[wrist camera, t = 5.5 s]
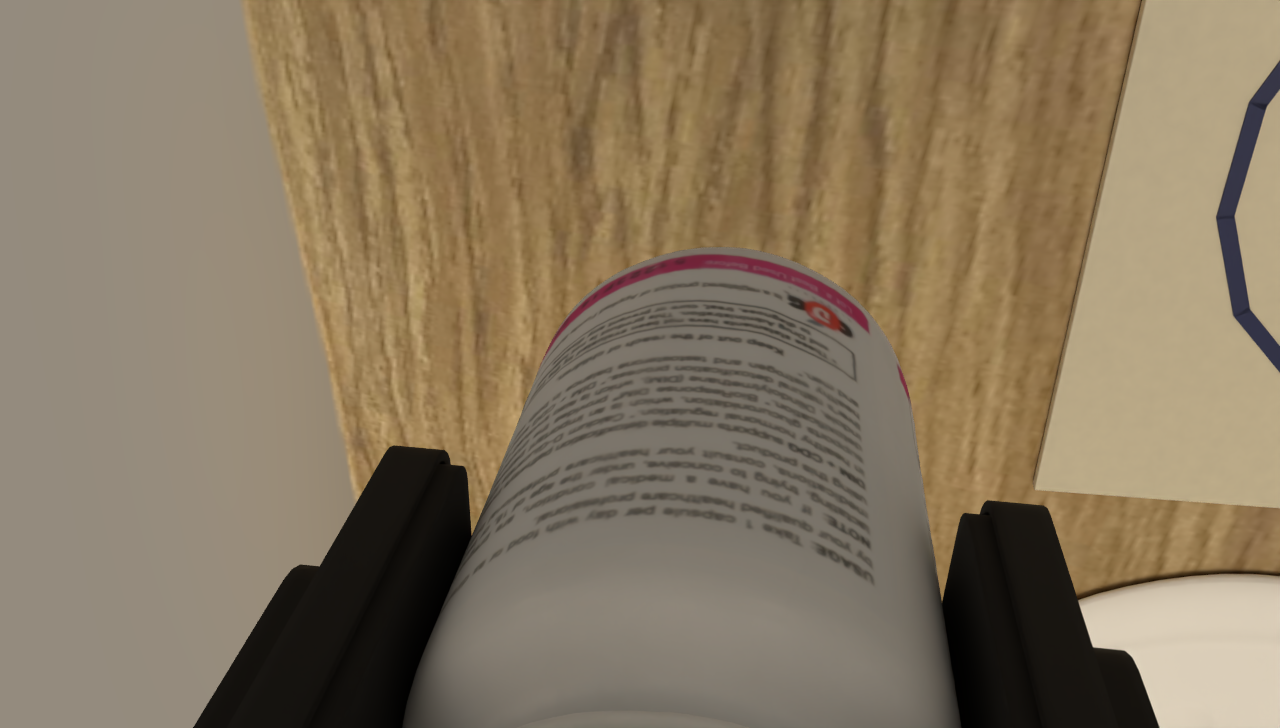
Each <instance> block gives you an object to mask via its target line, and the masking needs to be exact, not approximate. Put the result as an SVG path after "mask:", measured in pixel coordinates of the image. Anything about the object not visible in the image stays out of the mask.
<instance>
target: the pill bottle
mask: <svg viewBox="0 0 1280 728" xmlns="http://www.w3.org/2000/svg"><path fill="white" fill-rule="evenodd" d="M402 728H961V721H960V714H959V707H958V701H957V696H956V690H955V679H954V675H953V671H952V665H951V658H950V651H949V644H948V638H947V632H946V626H945V620H944V614H943V608H942V601H941V595H940V588H939V582H938V576H937V570H936V562H935V556H934V551H933V544H932V539H931V533H930V527H929V520H928V515H927V508H926V502H925V495H924V488H923V480H922V475H921V471H920V462H919V455H918V448H917V441H916V434H915V425H914V419H913V413H912V407H911V402H910V397H909V393H908V389H907V385H906V382H905V379H904V376H903V373H902V370H901V367H900V365H899V362H898V359H897V357H896V355H895V353H894V350H893V348H892V346H891V344H890V342H889V341H888V339H887V337H886V336H885V334H884V333H883V331H882V330H881V328H880V327H879V325H878V324H877V323H876V321H875V320H874V319H873V318H872V316H871V315H870V314H869V313H868V312H867V311H866V309H865V308H864V307H863V306H862V305H861V304H860V303H859V302H858V301H857V300H856V299H855V298H853V297H852V296H851V295H850V294H849V293H847V292H846V291H845V290H844V289H843V288H841V287H840V286H838V285H837V284H835V283H834V282H832V281H831V280H829V279H827V278H826V277H824V276H822V275H821V274H819V273H817V272H815V271H813V270H811V269H809V268H807V267H805V266H803V265H801V264H799V263H796V262H794V261H791V260H788V259H786V258H783V257H780V256H777V255H773V254H769V253H766V252H762V251H757V250H751V249H745V248H732V247H708V248H696V249H688V250H682V251H676V252H673V253H669V254H665V255H661V256H658V257H655V258H652V259H649V260H646V261H643V262H641V263H638V264H636V265H634V266H631V267H629V268H626V269H624V270H622V271H620V272H618V273H617V274H615V275H614V276H612V277H610V278H609V279H607V280H606V281H604V282H603V283H601V284H600V285H599V286H597V287H596V288H594V289H593V290H592V291H591V292H590V293H589V294H587V295H586V296H585V297H584V298H583V299H582V300H581V301H580V302H579V303H578V304H577V305H576V306H575V307H574V308H573V310H572V311H571V312H570V313H569V315H568V316H567V317H566V319H565V320H564V322H563V323H562V324H561V326H560V327H559V329H558V331H557V332H556V334H555V336H554V337H553V339H552V341H551V343H550V345H549V347H548V350H547V352H546V354H545V356H544V358H543V361H542V363H541V365H540V368H539V371H538V373H537V376H536V378H535V381H534V383H533V386H532V388H531V391H530V394H529V396H528V398H527V401H526V403H525V405H524V408H523V411H522V414H521V416H520V419H519V422H518V424H517V426H516V429H515V431H514V434H513V436H512V439H511V441H510V444H509V446H508V449H507V451H506V454H505V456H504V459H503V461H502V464H501V466H500V469H499V471H498V474H497V476H496V479H495V481H494V483H493V486H492V489H491V491H490V494H489V496H488V499H487V501H486V503H485V506H484V508H483V511H482V513H481V515H480V518H479V520H478V522H477V525H476V527H475V530H474V532H473V534H472V537H471V539H470V542H469V544H468V546H467V549H466V551H465V554H464V556H463V559H462V561H461V563H460V566H459V568H458V571H457V573H456V575H455V578H454V580H453V583H452V585H451V587H450V590H449V592H448V594H447V597H446V599H445V602H444V604H443V607H442V609H441V611H440V614H439V616H438V619H437V621H436V624H435V626H434V628H433V631H432V633H431V635H430V638H429V640H428V643H427V645H426V647H425V650H424V652H423V655H422V658H421V660H420V663H419V665H418V668H417V670H416V673H415V677H414V680H413V683H412V687H411V690H410V693H409V697H408V700H407V704H406V709H405V714H404V719H403V725H402Z"/></svg>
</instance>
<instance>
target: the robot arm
mask: <svg viewBox="0 0 1280 728" xmlns="http://www.w3.org/2000/svg"><path fill="white" fill-rule="evenodd" d="M471 537H472V536H471V521H470V507H469V492H468V478H467V472H466V469H465V467H463V466H457V465H451V464H450V458H449V455H448V453H447V452H446V451H445V450H437V449H426V448H415V447H404V446H392V447H390V448H389V449H388V450H387V451H386V453H385V454H384V456H383V458H382V459H381V461H380V463H379V465H378V466H377V468H376V470H375V472H374V473H373V475H372V477H371V479H370V480H369V482H368V484H367V485H366V487H365V489H364V491H363V492H362V494H361V496H360V498H359V499H358V501H357V503H356V504H355V506H354V508H353V510H352V512H351V513H350V515H349V517H348V518H347V520H346V522H345V524H344V525H343V527H342V529H341V530H340V532H339V534H338V536H337V537H336V539H335V541H334V543H333V544H332V546H331V548H330V550H329V551H328V553H327V555H326V556H325V558H324V560H323V562H322V564H321V565H320V567H319V566H309V565H299V566H297V567H295V568H293V569H292V570H291V571H290V573H289V574H288V575H287V576H286V577H285V579H284V580H283V582H282V584H281V585H280V587H279V588H278V590H277V592H276V593H275V595H274V596H273V598H272V600H271V601H270V603H269V604H268V606H267V608H266V609H265V611H264V613H263V614H262V616H261V618H260V619H259V621H258V622H257V624H256V626H255V627H254V629H253V631H252V632H251V634H250V636H249V637H248V639H247V640H246V642H245V644H244V645H243V647H242V649H241V650H240V652H239V654H238V655H237V657H236V658H235V660H234V662H233V663H232V665H231V667H230V668H229V670H228V672H227V673H226V675H225V677H224V678H223V680H222V681H221V683H220V685H219V686H218V688H217V690H216V691H215V693H214V695H213V696H212V698H211V699H210V701H209V703H208V704H207V706H206V708H205V709H204V711H203V713H202V714H201V716H200V717H199V719H198V721H197V723H196V724H195V726H194V727H193V728H402V725H403V719H404V714H405V709H406V704H407V700H408V697H409V693H410V690H411V687H412V683H413V680H414V677H415V673H416V670H417V668H418V665H419V663H420V660H421V658H422V655H423V652H424V650H425V647H426V645H427V643H428V640H429V638H430V635H431V633H432V631H433V628H434V626H435V624H436V621H437V619H438V616H439V614H440V611H441V609H442V607H443V604H444V602H445V599H446V597H447V594H448V592H449V590H450V587H451V585H452V583H453V580H454V578H455V575H456V573H457V571H458V568H459V566H460V563H461V561H462V559H463V556H464V554H465V551H466V549H467V546H468V544H469V542H470V539H471ZM942 608H943V614H944V620H945V626H946V632H947V638H948V644H949V651H950V658H951V665H952V671H953V675H954V679H955V690H956V696H957V701H958V707H959V714H960V721H961V728H1160V727H1159V725H1158V722H1157V719H1156V716H1155V714H1154V711H1153V708H1152V705H1151V702H1150V700H1149V697H1148V694H1147V691H1146V689H1145V686H1144V683H1143V680H1142V678H1141V675H1140V672H1139V670H1138V668H1137V666H1136V664H1135V662H1134V660H1133V658H1132V657H1131V656H1130V655H1129V654H1128V653H1127V652H1126V651H1124V650H1115V649H1105V648H1095V647H1093V646H1092V643H1091V640H1090V636H1089V633H1088V630H1087V627H1086V624H1085V621H1084V618H1083V615H1082V612H1081V608H1080V605H1079V602H1078V599H1077V596H1076V593H1075V590H1074V587H1073V584H1072V580H1071V577H1070V574H1069V571H1068V568H1067V565H1066V562H1065V559H1064V555H1063V552H1062V549H1061V546H1060V543H1059V540H1058V537H1057V534H1056V531H1055V527H1054V524H1053V521H1052V518H1051V515H1050V513H1049V511H1048V509H1047V508H1046V507H1045V506H1042V505H1031V504H1021V503H1010V502H999V501H986V502H985V503H984V504H983V506H982V508H981V512H980V514H969V513H964V514H963V515H962V517H961V519H960V522H959V526H958V531H957V535H956V540H955V545H954V550H953V554H952V559H951V564H950V568H949V573H948V578H947V582H946V587H945V592H944V597H943V601H942Z"/></svg>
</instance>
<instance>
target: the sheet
mask: <svg viewBox="0 0 1280 728" xmlns="http://www.w3.org/2000/svg"><path fill="white" fill-rule="evenodd" d="M1033 487H1034V489H1035V490H1043V491H1056V492H1069V493H1083V494H1096V495H1110V496H1123V497H1136V498H1150V499H1163V500H1176V501H1190V502H1203V503H1216V504H1230V505H1243V506H1257V507H1270V508H1280V0H1142V2H1141V7H1140V11H1139V16H1138V20H1137V24H1136V29H1135V33H1134V38H1133V42H1132V47H1131V51H1130V55H1129V60H1128V64H1127V69H1126V73H1125V78H1124V82H1123V86H1122V91H1121V95H1120V100H1119V104H1118V109H1117V113H1116V117H1115V122H1114V126H1113V131H1112V135H1111V140H1110V144H1109V148H1108V153H1107V157H1106V162H1105V166H1104V171H1103V175H1102V179H1101V184H1100V188H1099V193H1098V197H1097V202H1096V206H1095V210H1094V215H1093V219H1092V224H1091V228H1090V233H1089V237H1088V241H1087V246H1086V250H1085V255H1084V259H1083V263H1082V268H1081V272H1080V277H1079V281H1078V286H1077V290H1076V294H1075V299H1074V303H1073V308H1072V312H1071V317H1070V321H1069V325H1068V330H1067V334H1066V339H1065V343H1064V348H1063V352H1062V356H1061V361H1060V365H1059V370H1058V374H1057V379H1056V383H1055V387H1054V392H1053V396H1052V401H1051V405H1050V410H1049V414H1048V418H1047V423H1046V427H1045V432H1044V436H1043V441H1042V445H1041V449H1040V454H1039V458H1038V463H1037V467H1036V472H1035V476H1034V480H1033Z"/></svg>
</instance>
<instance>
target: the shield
mask: <svg viewBox="0 0 1280 728" xmlns="http://www.w3.org/2000/svg"><path fill="white" fill-rule="evenodd" d="M1078 602H1079V605H1080V608H1081V612H1082V615H1083V618H1084V621H1085V624H1086V627H1087V630H1088V633H1089V636H1090V640H1091V643H1092V646H1093V647H1095V648H1105V649H1115V650H1124V651H1126V652H1127V653H1128V654H1129V655H1130V656H1131V657H1132V658H1133V660H1134V662H1135V664H1136V666H1137V668H1138V670H1139V672H1140V675H1141V678H1142V680H1143V683H1144V686H1145V689H1146V691H1147V694H1148V697H1149V700H1150V702H1151V705H1152V708H1153V711H1154V714H1155V716H1156V719H1157V722H1158V725H1159V727H1160V728H1280V576H1272V575H1259V574H1215V575H1200V576H1188V577H1180V578H1173V579H1165V580H1158V581H1152V582H1147V583H1142V584H1136V585H1131V586H1126V587H1122V588H1118V589H1114V590H1110V591H1106V592H1102V593H1098V594H1095V595H1092V596H1089V597H1086V598H1083V599H1080V600H1078Z"/></svg>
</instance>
